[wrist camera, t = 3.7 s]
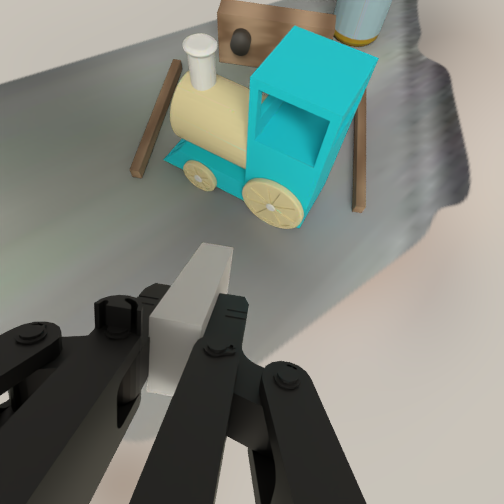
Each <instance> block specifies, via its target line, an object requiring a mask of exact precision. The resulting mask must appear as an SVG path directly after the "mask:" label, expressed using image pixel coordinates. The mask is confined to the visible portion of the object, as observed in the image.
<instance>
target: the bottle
mask: <svg viewBox="0 0 504 504" xmlns="http://www.w3.org/2000/svg"><path fill="white" fill-rule="evenodd" d="M391 3H392V0H337V3H336V7H335V11H334V15H336V24H335V32H334V36H335V37H336V38H337V39H338V40H339V41H340V42H342V43H343V44H346V45H349V46H355V47H359V46H365V45H368V44H369V43H371V42H373V41H374V40H375V39H376V38H377V36H378V34H379V32H380V30H381V28H382V25H383V23H384V20H385V18H386V15H387V13H388V10H389V8H390V5H391Z"/></svg>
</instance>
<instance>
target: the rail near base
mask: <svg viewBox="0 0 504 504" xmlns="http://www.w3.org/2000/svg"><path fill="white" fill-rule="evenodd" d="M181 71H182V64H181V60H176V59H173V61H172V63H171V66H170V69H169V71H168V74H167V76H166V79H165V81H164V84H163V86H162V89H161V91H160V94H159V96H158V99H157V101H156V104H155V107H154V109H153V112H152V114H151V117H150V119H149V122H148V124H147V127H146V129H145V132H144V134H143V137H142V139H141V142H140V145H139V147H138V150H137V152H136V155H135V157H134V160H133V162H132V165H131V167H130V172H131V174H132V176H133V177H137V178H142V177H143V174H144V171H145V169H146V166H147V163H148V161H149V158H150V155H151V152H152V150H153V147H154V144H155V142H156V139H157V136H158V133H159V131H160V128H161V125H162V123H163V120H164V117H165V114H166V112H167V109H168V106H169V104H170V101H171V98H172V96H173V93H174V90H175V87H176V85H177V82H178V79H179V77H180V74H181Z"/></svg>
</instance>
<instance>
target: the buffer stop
mask: <svg viewBox="0 0 504 504" xmlns="http://www.w3.org/2000/svg"><path fill="white" fill-rule="evenodd" d="M217 20H218V41H219V62H224V63H231V64H238V65H245V66H251V67H259V66H260V65H261V64H262V63H263V62H264V60H265V59H266V58H267V57H268V56H269V55H270V53H271V52H272V51H273V50H274V49H275V48H276V46H277V45H278V44H279V43H280V42H281V41H282V39H283V38H284V37H285V36H286V35H287V34H288V32H289V31H290V30H291V29H292V28H293V27H294V25H295V26H298V27H300V28H303V29H305V30H308V31H310V32H313V33H315V34H318V35H321V36H323V37H326V38H328V39H331V40H333V36H334V32H335V24H336V15H333V14H326V13H319V12H312V11H305V10H298V9H292V8H285V7H278V6H271V5H264V4H257V3H250V2H243V1H236V0H221V3H220V6H219V9H218V12H217Z"/></svg>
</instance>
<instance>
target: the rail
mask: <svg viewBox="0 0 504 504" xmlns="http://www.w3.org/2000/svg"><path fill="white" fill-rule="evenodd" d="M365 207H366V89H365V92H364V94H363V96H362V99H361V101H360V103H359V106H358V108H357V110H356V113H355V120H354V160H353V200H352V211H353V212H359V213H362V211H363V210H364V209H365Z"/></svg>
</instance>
